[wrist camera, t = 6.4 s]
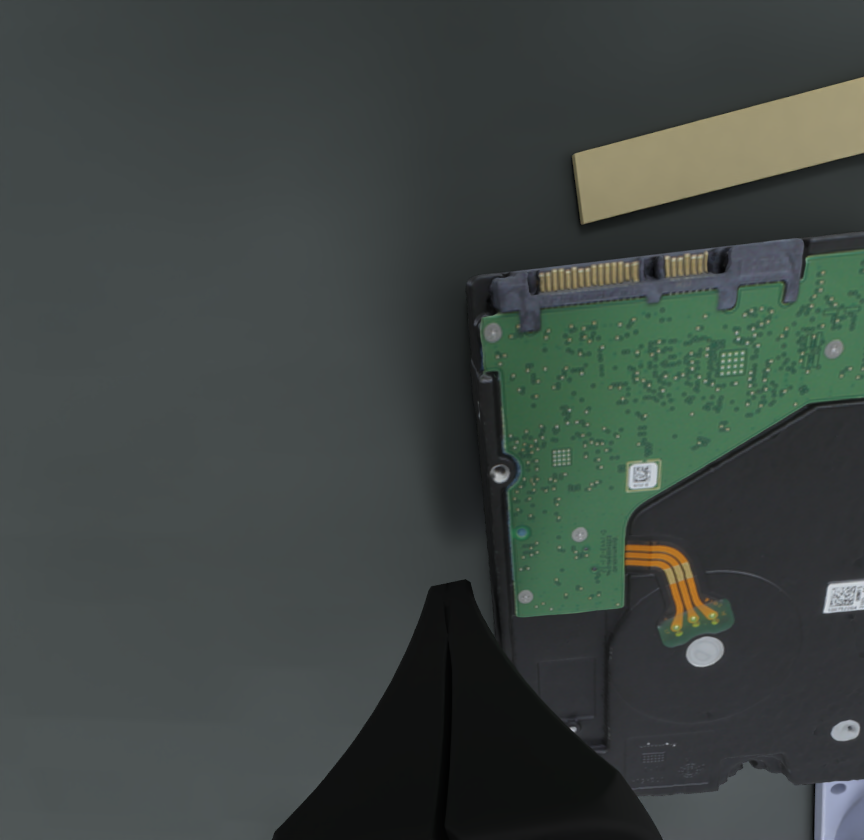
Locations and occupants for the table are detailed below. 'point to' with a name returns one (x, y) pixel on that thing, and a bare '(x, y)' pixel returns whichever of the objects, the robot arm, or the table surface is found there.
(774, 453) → the disk drive
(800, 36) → the table surface
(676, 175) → the tape mark
